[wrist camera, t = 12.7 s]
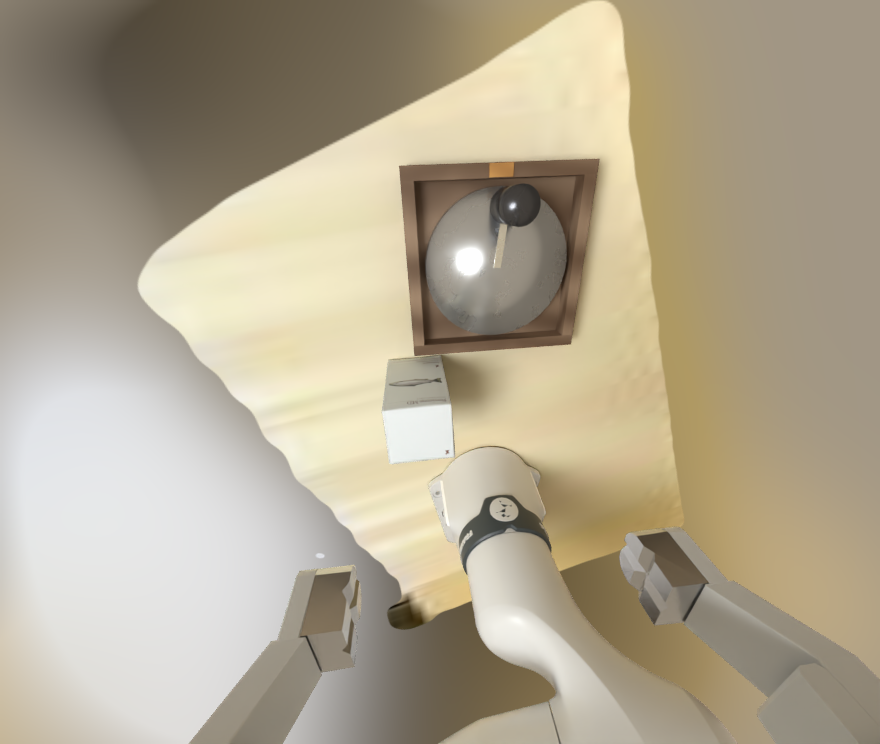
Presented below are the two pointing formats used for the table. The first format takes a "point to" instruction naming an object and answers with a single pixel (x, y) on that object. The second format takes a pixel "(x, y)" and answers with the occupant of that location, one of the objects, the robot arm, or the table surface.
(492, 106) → the table surface
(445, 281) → the dial
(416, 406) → the supplement box
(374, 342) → the table surface
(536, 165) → the dial housing
